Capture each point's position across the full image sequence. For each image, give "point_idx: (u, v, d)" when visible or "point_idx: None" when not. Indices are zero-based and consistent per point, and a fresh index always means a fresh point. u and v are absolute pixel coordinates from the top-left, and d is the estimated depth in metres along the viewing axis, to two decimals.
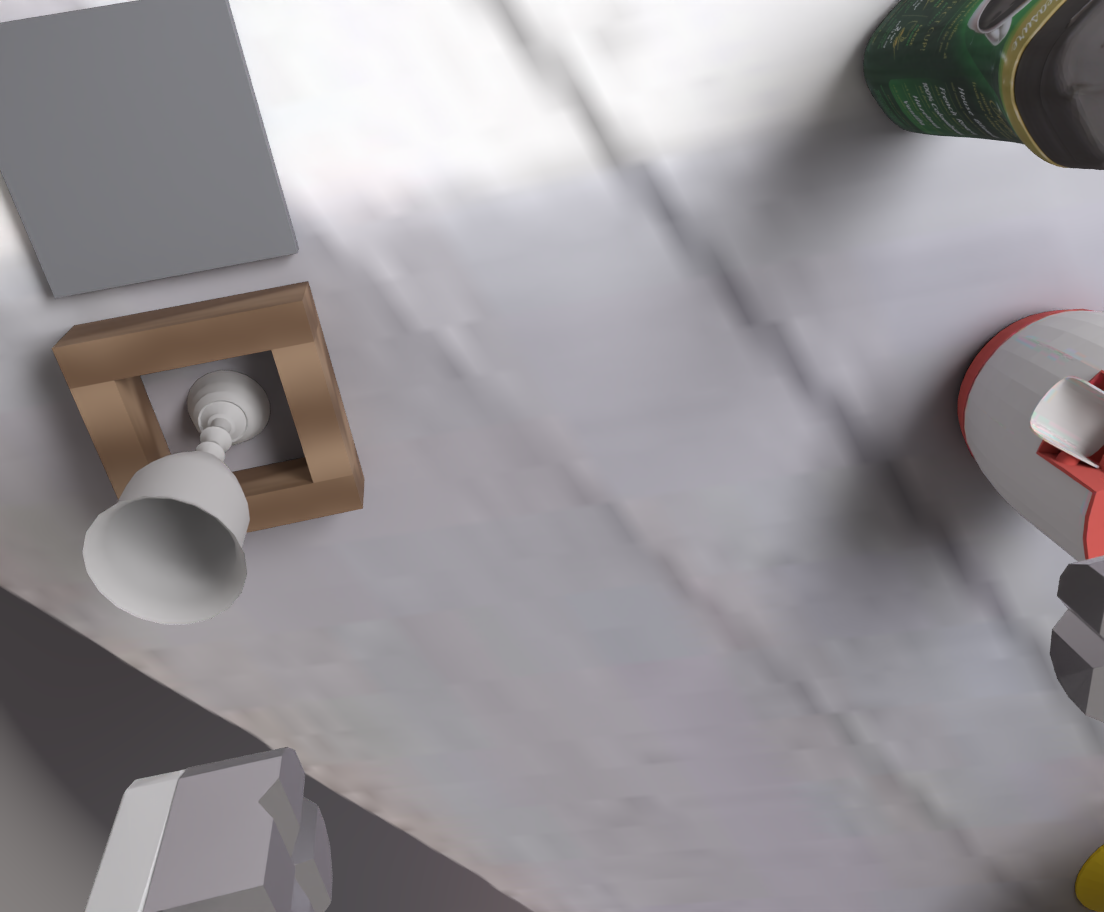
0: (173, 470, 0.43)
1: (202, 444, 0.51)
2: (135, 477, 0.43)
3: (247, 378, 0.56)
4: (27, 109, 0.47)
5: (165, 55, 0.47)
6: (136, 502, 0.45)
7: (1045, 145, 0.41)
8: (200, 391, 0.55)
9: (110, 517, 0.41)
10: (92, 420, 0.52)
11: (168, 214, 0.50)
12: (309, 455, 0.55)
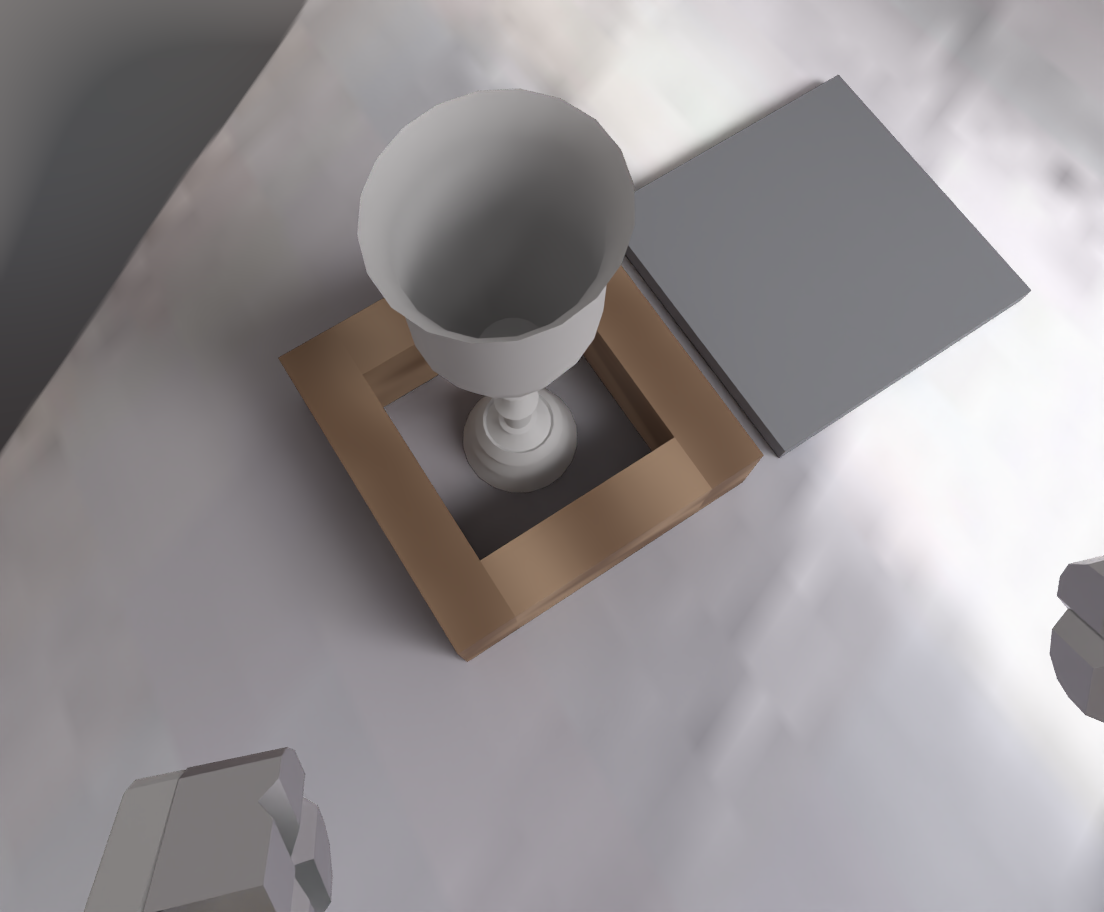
0: None
1: None
2: None
3: (574, 448, 0.39)
4: (803, 150, 0.42)
5: (931, 256, 0.41)
6: (482, 239, 0.28)
7: None
8: (542, 389, 0.39)
9: (537, 133, 0.24)
10: None
11: (760, 298, 0.40)
12: (526, 539, 0.34)
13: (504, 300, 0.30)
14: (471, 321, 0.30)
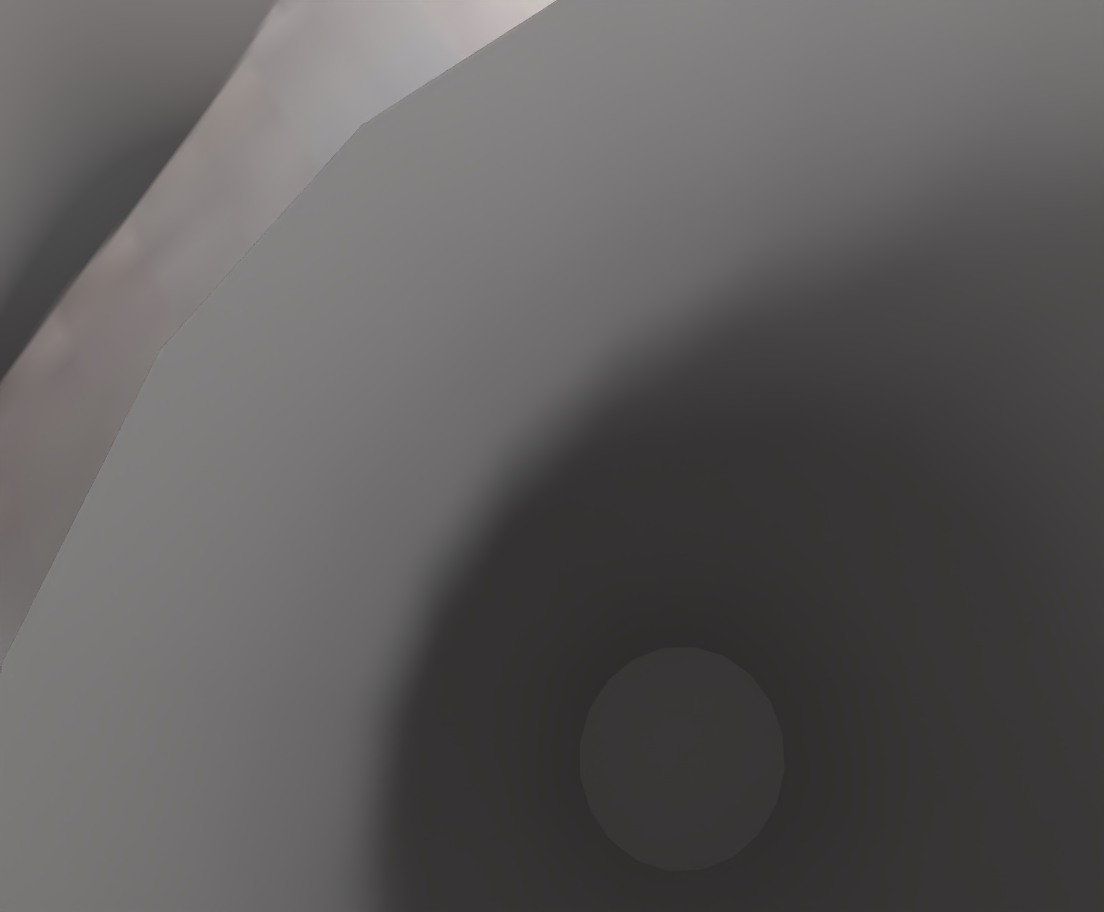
0: None
1: None
2: None
3: None
4: None
5: None
6: (638, 494, 0.09)
7: None
8: None
9: (1099, 171, 0.04)
10: None
11: None
12: None
13: (669, 615, 0.11)
14: (578, 681, 0.11)
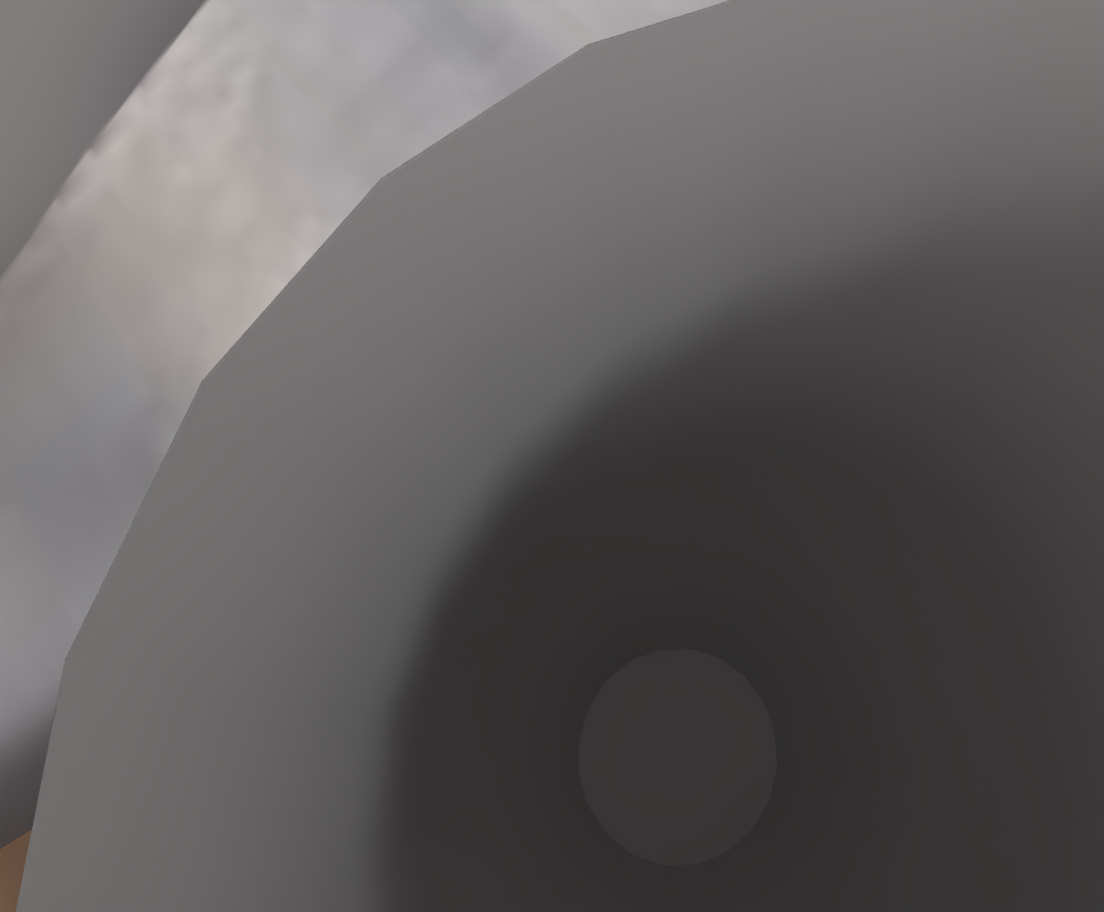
0: None
1: None
2: None
3: None
4: None
5: None
6: (635, 502, 0.09)
7: None
8: None
9: (1059, 212, 0.05)
10: None
11: None
12: None
13: (665, 617, 0.11)
14: (577, 681, 0.11)
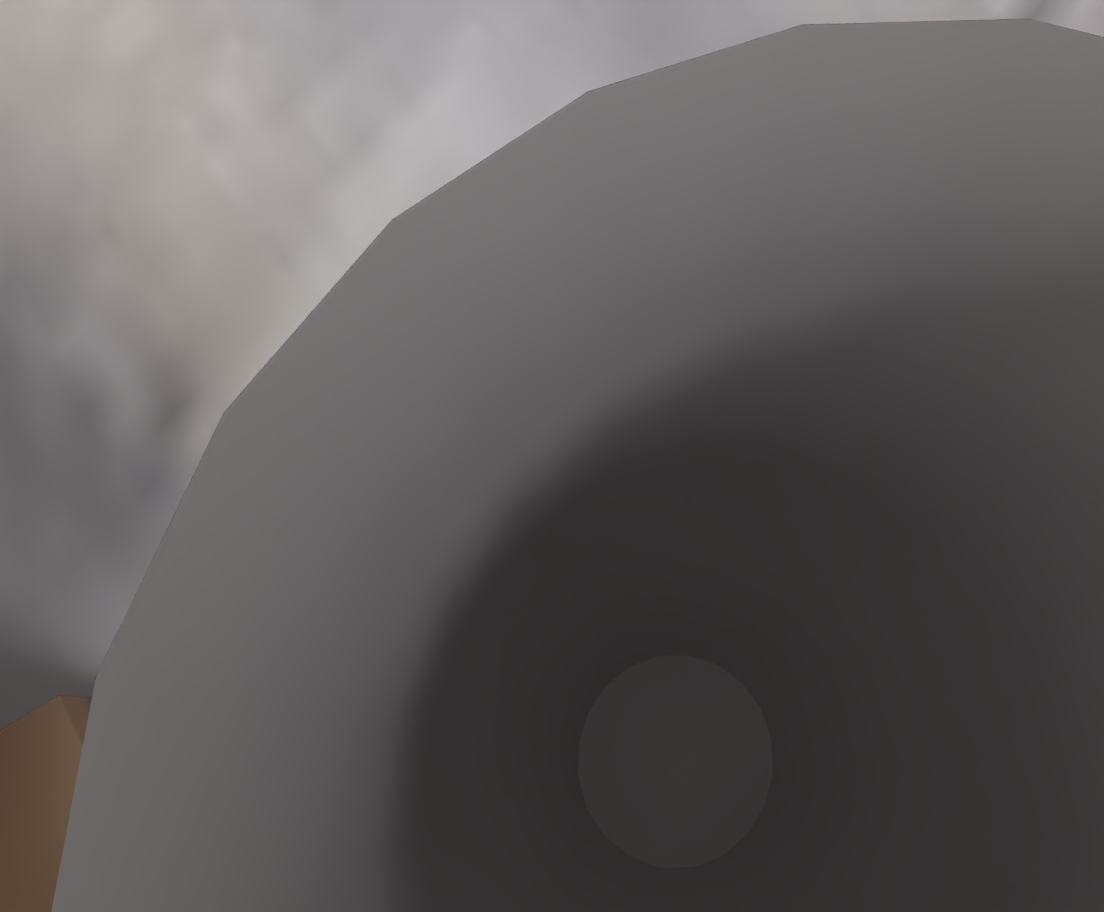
0: None
1: None
2: None
3: None
4: None
5: None
6: (634, 512, 0.09)
7: None
8: None
9: (1040, 245, 0.05)
10: None
11: None
12: None
13: (663, 625, 0.11)
14: (576, 687, 0.11)
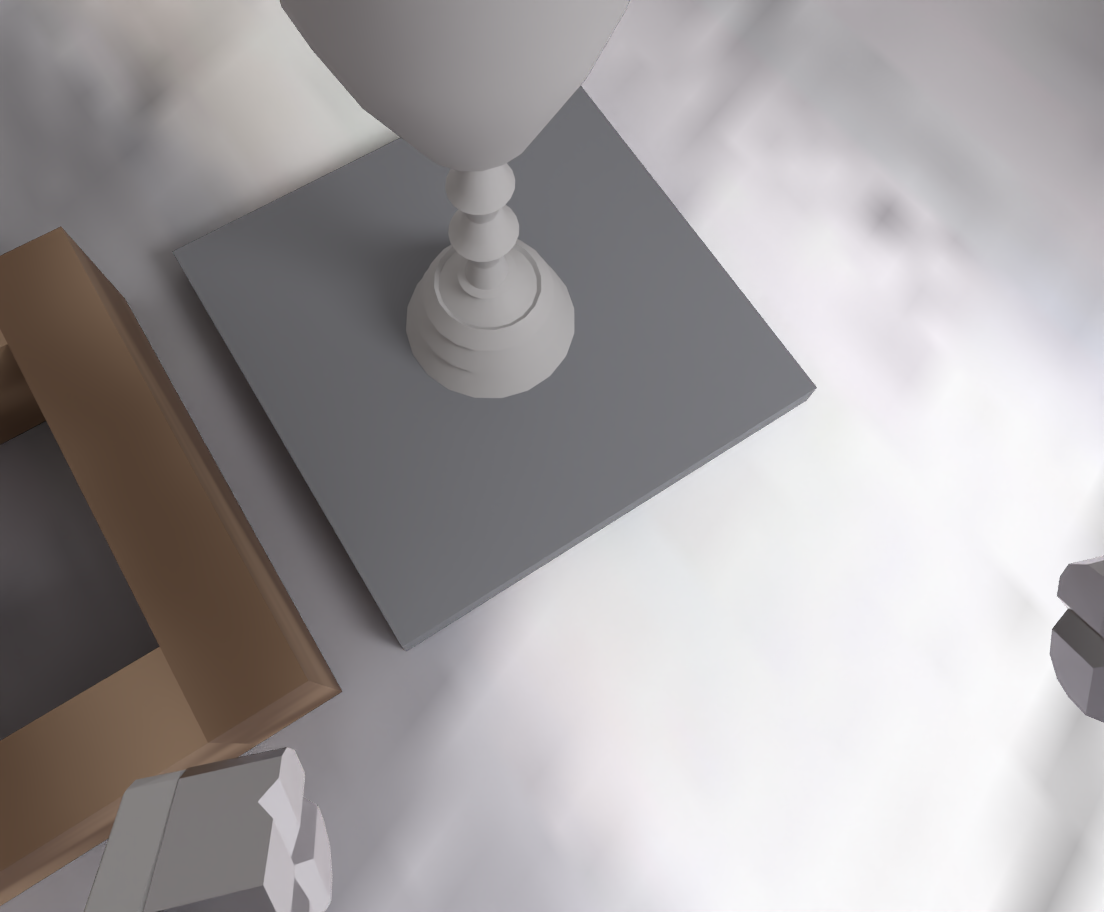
0: None
1: None
2: None
3: (569, 336, 0.26)
4: None
5: (669, 332, 0.27)
6: None
7: None
8: None
9: None
10: None
11: (396, 394, 0.26)
12: None
13: None
14: None
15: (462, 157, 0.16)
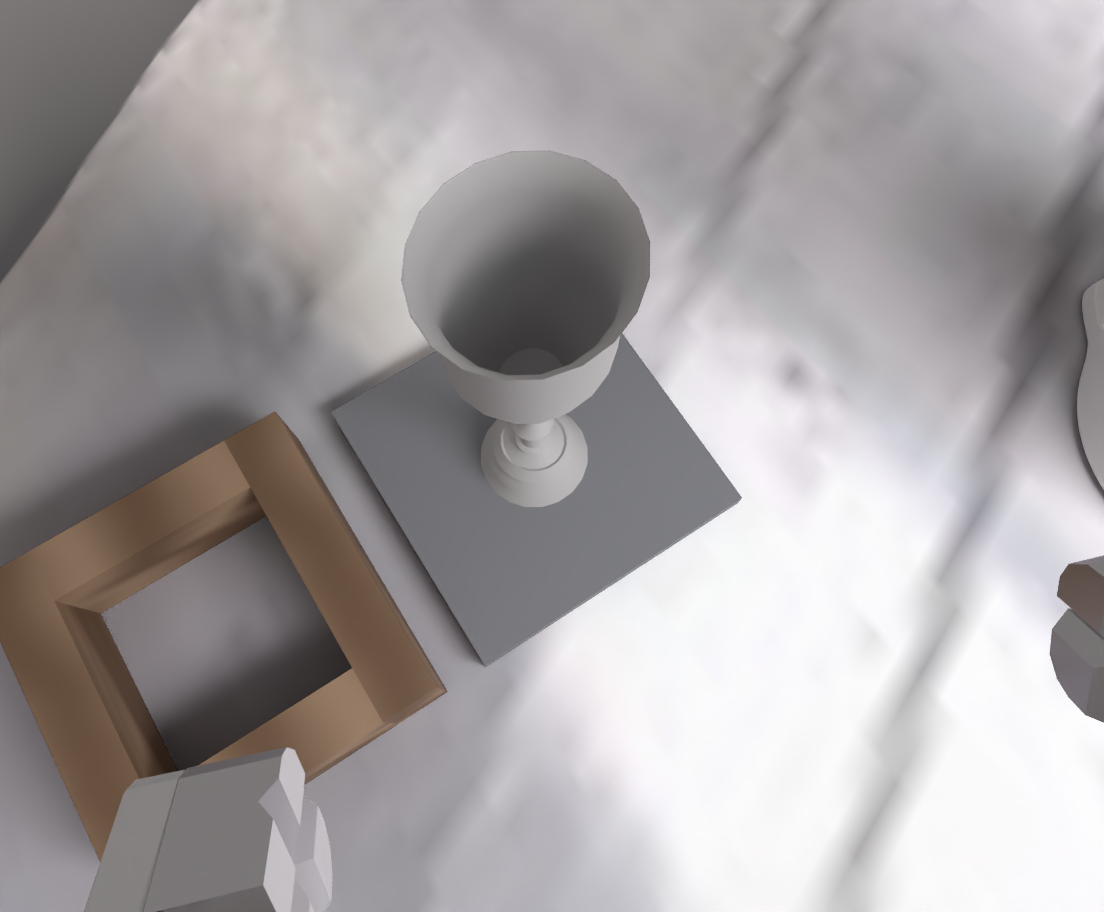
0: None
1: None
2: None
3: (584, 466, 0.42)
4: None
5: (648, 461, 0.42)
6: (508, 278, 0.31)
7: None
8: None
9: (563, 190, 0.26)
10: (184, 474, 0.38)
11: (476, 505, 0.41)
12: None
13: (526, 332, 0.33)
14: (495, 351, 0.33)
15: None
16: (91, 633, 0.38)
